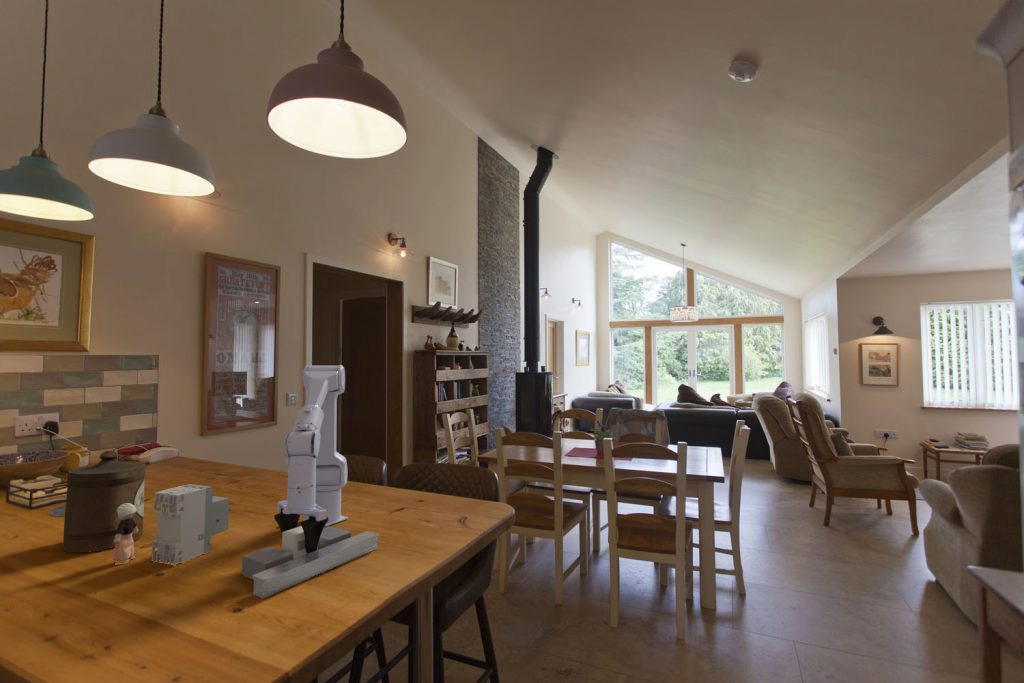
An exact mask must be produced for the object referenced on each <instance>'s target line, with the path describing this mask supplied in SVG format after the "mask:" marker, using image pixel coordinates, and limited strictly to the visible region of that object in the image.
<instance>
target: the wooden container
mask: <svg viewBox="0 0 1024 683" xmlns="http://www.w3.org/2000/svg"><path fill="white" fill-rule="evenodd" d="M118 457H119V455H118V453H117V452H116V451H115V450H105V451H104V452H102V453H101V454H99V458H100V459H101V460H100V461H99V462H98V463H95V464H88V465H83V466H79V467H78V466H77V467H74V468H72V469H70V470H68V474H67V487H66V498H65V509H64V520H63V521H64V522H63V539H62V541H63V542H62V543H63V544H62V550H63V551H64V552H67V553H71V552H87V553H90V552H89V551H96V552H98V551H97V550H102V549H107V548H110V547H115V545H116V543H114V540H115V536H116V531H117V529H118V525H119V523H120V522H121V521H122V520H120V519H119V518H118V512H117V509H118V507H119V506H120V505H122V504H125V503H130V504H132V505H134V506H135V508H136V512H135V513H134V514H133V515H132V517H131V518H133V520H134V521H135V523H136V524H137V529H138V532H137V533H132V538H133V542H135V541H137V540H139V539H140V538H141V537H143V530H144V529H143V528H144V512H145V476H146V462H144V461H136V460H135V461H134V460H133V461H132V460H129V461H128V460H127V461H119V459H117V458H118ZM138 538H139V539H138ZM134 540H135V541H134ZM107 550H108V549H107ZM102 551H103V550H102Z"/></svg>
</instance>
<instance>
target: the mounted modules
mask: <svg viewBox="0 0 1024 683" xmlns="http://www.w3.org/2000/svg"><path fill="white" fill-rule="evenodd" d="M350 537H352V531H348V530H345V529H342V528H337V527H333V526H331V525H329V526H326V527H324V529H323V531H322V533H321V536H320V539H319V543H318V550H319V549H322V548H324V547H327V546H329V545H332V544H335V543H337V542H340V541H342V540H345V539H348V538H350ZM241 560H242V561H241V564H242V565H241V576H242V575H244V576H246V577H248V578H247V579H249V578H250V579H249V580H251V579H252V581H254V578H252V575H254V574H257V573H260V572H262V571H265V570H267V569H270V568H273V567H275V566H278V565H280V564H283V563H286V562H288V561H291V560H293V554H292V553H289V552H286V551H283V550H282V549H279V548H276V547H273V546H271V545H270V546H267V547H264V548H261V549H258V550H256V551H252V552H250V553H247V554H244V555H242V558H241ZM244 576H243V577H244ZM246 577H245V578H246Z"/></svg>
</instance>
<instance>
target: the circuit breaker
mask: <svg viewBox="0 0 1024 683" xmlns="http://www.w3.org/2000/svg"><path fill="white" fill-rule="evenodd" d="M213 490H214V487H213V486H210V485H208V486H207V485H201V484H192V483H191V484H190V483H188V484H184V485H180V486H175V487H171V488H167V489H164V490H160V491H155V492H154V495H155V498H154V499H153V501H152V502H153V503H152V512H153V513H156V536H155V537H156V538H154V539H153V538H152V540H151V551H150V555H152V559H151V560H150V562H151V561H156V562H163V563H165V562H166V563H168V562H170V563H169V564H171V563H174V565H176V564H177V563H179V562H184V561H186V560H189V559H192V558H194V557H196V556H199V555H202V554H204V553H206V552H209V551H211V550H212V544H211V543H210V542H211V541H212V536H215V535H217V534H220V533H223V532H225V531H226V532H227V531H228V530H229V518H230V517H229V516H230V513H229V512H230V511H231V506H230V498H229V497H224V496H223V497H222V496H216V495H214V496H213V494H214V492H213ZM158 505H159V507H157V506H158ZM156 548H157V550H156ZM159 560H160V561H159Z"/></svg>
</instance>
